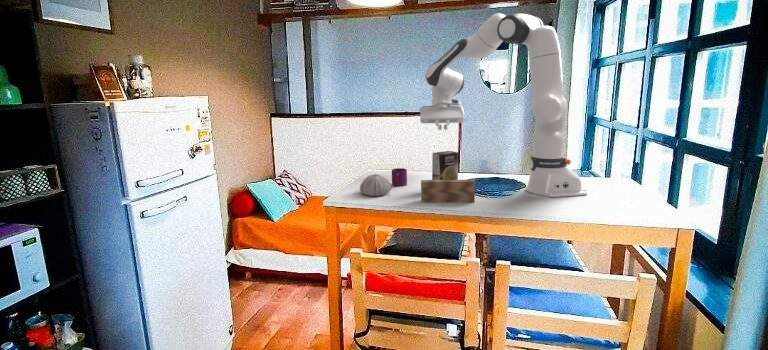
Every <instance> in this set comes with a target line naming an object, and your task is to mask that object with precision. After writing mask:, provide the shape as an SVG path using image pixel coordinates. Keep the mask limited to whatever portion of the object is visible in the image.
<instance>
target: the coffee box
mask: <svg viewBox="0 0 768 350" xmlns="http://www.w3.org/2000/svg"><path fill="white" fill-rule="evenodd" d="M431 155H432V157H431V158H432V159H431V160H432V161H431V162H432V164H431V166H432V167H431V168H432V169H431V173H432V174H431V180H459V178H458V177H459V152H457V151H451V150H447V151H437V152H432V154H431Z"/></svg>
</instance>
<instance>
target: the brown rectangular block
mask: <svg viewBox="0 0 768 350" xmlns="http://www.w3.org/2000/svg"><path fill="white" fill-rule="evenodd" d="M475 191H476V181H475V179H458V180H432V179H421V180H420V201H421V203H475V201H476V200H475V197H476V196H475V194H476V192H475Z"/></svg>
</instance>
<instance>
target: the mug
mask: <svg viewBox="0 0 768 350" xmlns="http://www.w3.org/2000/svg"><path fill="white" fill-rule="evenodd" d="M391 186H392V187H405V186H408V169H407V168H401V167H399V168H397V167H395V168H392V169H391Z"/></svg>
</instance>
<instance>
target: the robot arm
mask: <svg viewBox="0 0 768 350" xmlns="http://www.w3.org/2000/svg"><path fill="white" fill-rule="evenodd" d="M503 42H504V43H506V44H512V45H515V44H516V45H525V46H526V47H527V51H528V59H529V60H528V61H529V69H530V78H531V106H532V114H533V116H534V118H535V126H534V131H533V137H532V155H530V160H529V161H530V163H529V164H530V165H529V167H530V168H529V169H530V174H529V179H528V182H527V186H526V188H525V190H526V191H527V192H529V193H531V194H535V195H538V196H539V195H541V196H546V197H549V198H558V197H559V198H560V197H575V196H578V197H579V196H587V194H588V190H587V189H586V188H585V187H583V186H582V181H581V178H580V176H579V175H578V174H577V173H576V172H574V171H573V170H572V169H571V168H569V167H568V166H570V164H571V159H569V158H565V157H564V156H563V148H564V135H565V129H566V119H567V110H568V102H567V100H566V97H565V96H564V85H563V81H564V79H563V78H564V77H563V67H562V66H563V65H562V64H563V63H562V57H561V56H562V55H561V49H560V48H561V47H560V43H559V38H558V35H557V32H556V30H555V28H554V27H552V26H550V25H544V22H543V21H542V20H541V19H540V18H539V17H538V16H536V15H533V14H527V13H510V14H504V13H501V12H497V13H494V14H492V15H491V16H490V17H488V19H487V20H486V21H485V22H483V24H482V25H480V27H478V30H477V31H475V32H474V33H473V34H472V35H471V36H468V37H467V38H462V39H460V40H459V41H457V42H456V43H455V44H454V45H453V46H452V47H450V48H449V50H447V52H445V53H444V54H443V55H442V56H440V58H439V59H438V60H437V61H435V62H434V63H432V64H431V65H429V67H428V68H427V70H426V71H425V74H424V75H425V79H426V82H427V84H428V85H429V86H431V97H432V98H431V99H432V100H431V102H432V103H431V105H423V106H422V107H419V113H420V121H419V122H420V123H421V124H435V126H436V127H437V129H438V130H437V131H442V130H444V131H448V127H449V126H450V124H457V123H458V124H462V123H464V121H465V117H466V116H465V111H464V107H463V105H462V102H461V100H459V99H454V98H453V97H455V96H456V95H458V94H459V93H461V91H462V90H463V89H464V87H465V78H464V77H465V76H464V75H463V74H462V73H460V72H458V71H456V70H453V69H450V68H449V67H450V66H451V65H453V64H454V62H456V61H457V60H458V59H462V58H473V59H485V58H488V57H489V56H491V55H492V54H494V52H495V51H496V50H497V49H498V47H499V46H500V45H502V43H503ZM442 124H443V126H442ZM442 127H443V129H442ZM567 165H568V166H567Z"/></svg>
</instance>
